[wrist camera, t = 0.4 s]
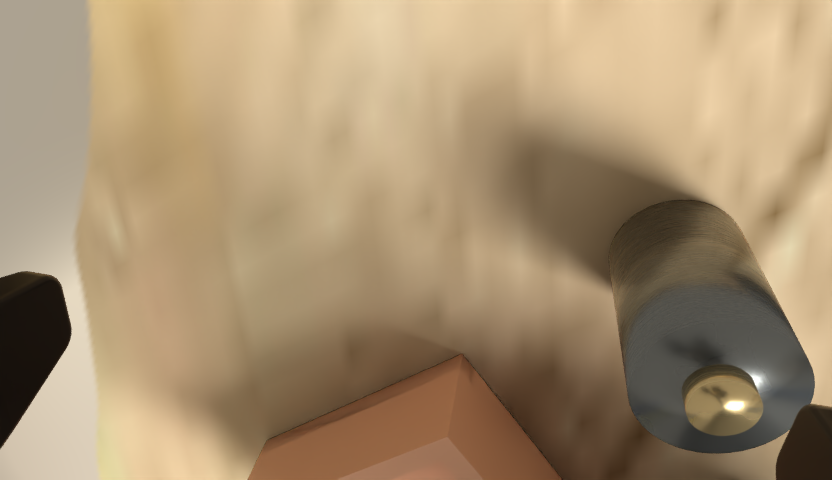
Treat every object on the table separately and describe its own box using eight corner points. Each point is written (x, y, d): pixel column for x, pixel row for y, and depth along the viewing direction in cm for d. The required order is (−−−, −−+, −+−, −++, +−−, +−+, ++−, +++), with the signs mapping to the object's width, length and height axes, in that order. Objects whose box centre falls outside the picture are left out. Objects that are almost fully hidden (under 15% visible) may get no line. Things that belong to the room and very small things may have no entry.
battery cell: (768, 278, 20) (853, 440, 14) (645, 328, 22) (678, 491, 16) (711, 176, 19) (779, 310, 13) (585, 237, 21) (598, 379, 15)
